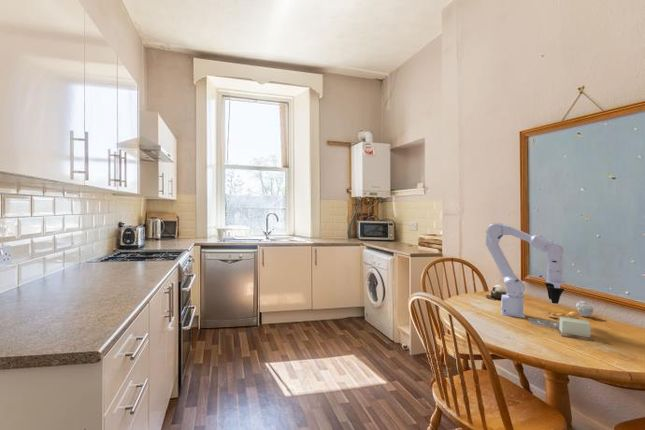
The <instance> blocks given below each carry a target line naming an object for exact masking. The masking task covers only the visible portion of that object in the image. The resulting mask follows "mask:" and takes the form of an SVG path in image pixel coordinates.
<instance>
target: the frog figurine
mask: <svg viewBox="0 0 645 430" xmlns="http://www.w3.org/2000/svg"><path fill="white" fill-rule="evenodd" d="M575 306H576V307H575V308H576V309H577V311H578V312H577V313H578V314H579V316H581V317H583V318H589V317H590V316H592V313H594V308H593V307H592V306H591V305H590V304H588V303H587V302H586V301H583V300H582V301H581V300H580V301H578V302H576V303H575Z"/></svg>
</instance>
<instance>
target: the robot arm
mask: <svg viewBox="0 0 645 430" xmlns="http://www.w3.org/2000/svg"><path fill="white" fill-rule="evenodd" d="M485 234H486V235H485V245H486V247H487V249H488V251H489V253H490V255H491V256H492V258H493V261H494V263H495V265H496V266H497V268H498V270H499V271H500V274H501V276H502V277H503V282H504V285H505V290H506V292H507V295H502V298H501V300H500V302H501V303H500V312H501V315H502V316H506V317H507V316H508V317H515V318H516V317H517V318H522V319H525V318H526V316H525V313H524V311H525V310H524V309H525V307H524V306H525V295H524V292H525V289H526V287H525V284H524V283H523V282H522V281H521V280H520V279H519V277H518V276H517V275H516V273H514V270H513V269H512V267H511V265H510V263H509V261H508V259H507V258H506V256H505V254H504V252H503V250H502V248H501V247H500V245H499V243H500V240H501V238H502V237H504V236H513V237H515V238H517V239H520V240H522V241H525V242H528V243H529V246H530V247H532V248H534V249H536V250H539V251H541V252H543V253H547V254H548V255H547V256H548V257H547V263H546V264H547V265H546V266H547V267H546V279H545V282H544V285H545V286H546V290H547V296H548V297H547V298H548V300H551V303H552V304H556V305H558V304H559V301H560V299H561V296H562V293H564V291H565V288H563V287H561V285H562V284H567V283H566V281H564V280H563V275H564V274H563V272H564V254H565V247H564V246H563V245H562V244H561V243H559V242H555V240H552V239H551V240H550V239H548V238H545V237H544V236H543V235H541V234H535V235H531V234H529V233H526V232H524V231H522V230H520V229H518V228H515V227H513V226H511V225H507V224H504V223H501V222H497V223H495V222H494V223H490V224H489V225H488V226H487V228H486V231H485Z"/></svg>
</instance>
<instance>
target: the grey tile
mask: <svg viewBox="0 0 645 430" xmlns="http://www.w3.org/2000/svg"><path fill="white" fill-rule="evenodd" d="M527 319H528V322H529V324H530V325H532V326H533V325H535V326H541V327H542V326H543V327H547V328H553V329H556V327H559V321H553V320H546V319H540V318H532V317H527Z"/></svg>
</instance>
